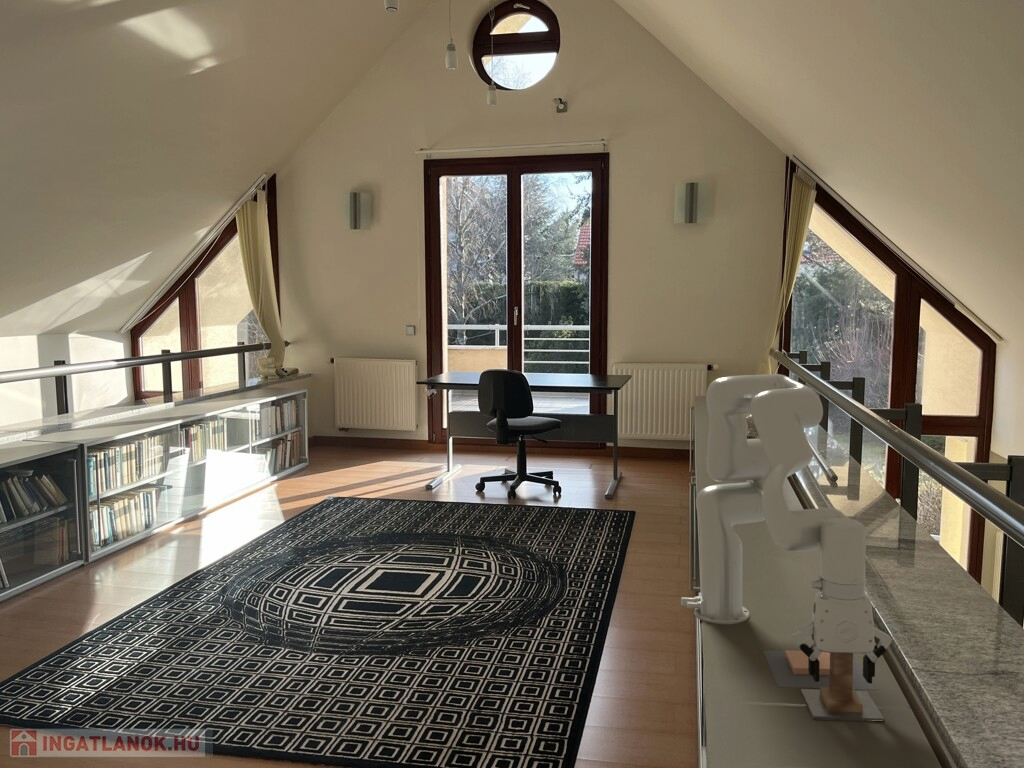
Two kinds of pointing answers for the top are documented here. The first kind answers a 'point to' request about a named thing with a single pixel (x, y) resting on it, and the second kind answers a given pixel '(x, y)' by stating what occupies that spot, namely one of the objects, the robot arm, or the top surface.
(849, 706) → the wooden block
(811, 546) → the robot arm
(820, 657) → the tile
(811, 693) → the plate
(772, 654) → the mat
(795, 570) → the top surface
